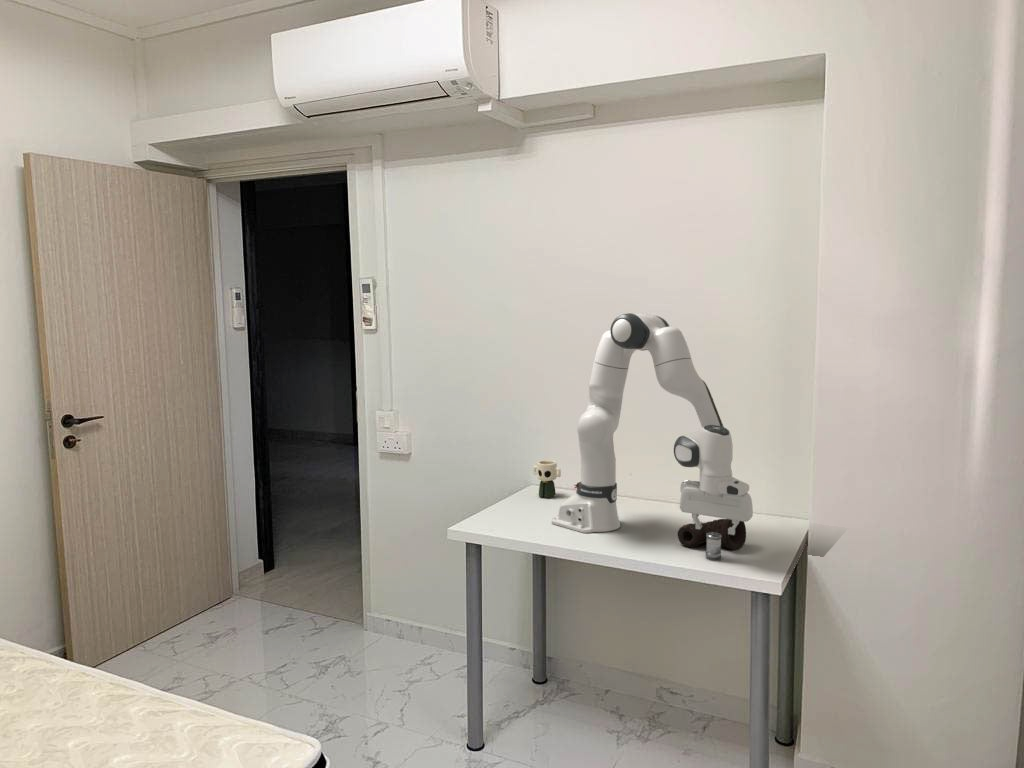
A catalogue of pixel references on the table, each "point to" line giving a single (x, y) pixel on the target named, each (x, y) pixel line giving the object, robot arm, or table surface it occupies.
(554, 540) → the table surface
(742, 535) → the pipe
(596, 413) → the robot arm
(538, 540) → the table surface
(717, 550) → the container
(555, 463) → the character mug
